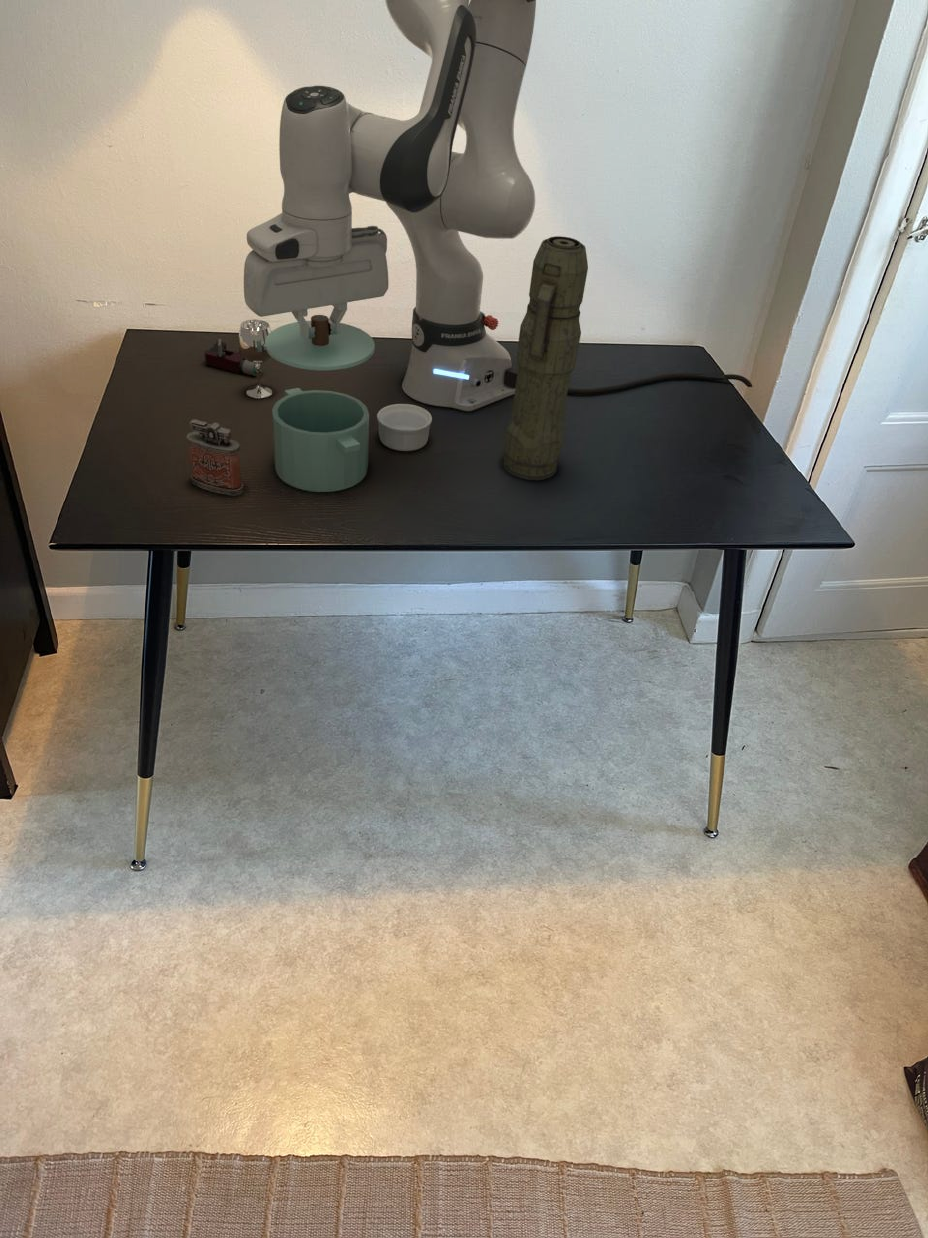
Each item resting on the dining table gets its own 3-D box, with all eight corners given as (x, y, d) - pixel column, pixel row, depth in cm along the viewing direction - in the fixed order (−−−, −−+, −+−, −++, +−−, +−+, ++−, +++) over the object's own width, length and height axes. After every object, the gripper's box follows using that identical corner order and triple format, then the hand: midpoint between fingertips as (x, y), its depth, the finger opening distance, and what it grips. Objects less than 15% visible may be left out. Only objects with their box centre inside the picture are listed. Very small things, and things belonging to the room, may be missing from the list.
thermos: (493, 477, 141) (522, 248, 119) (511, 443, 150) (541, 224, 128) (548, 490, 140) (588, 260, 117) (563, 455, 149) (602, 235, 126)
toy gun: (257, 380, 159) (256, 354, 156) (197, 365, 162) (195, 339, 159) (283, 360, 167) (282, 335, 164) (226, 346, 169) (224, 321, 166)
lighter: (247, 487, 133) (243, 425, 126) (235, 498, 130) (230, 436, 124) (199, 473, 134) (192, 412, 128) (187, 484, 132) (179, 422, 126)
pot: (332, 430, 148) (332, 376, 142) (392, 487, 136) (395, 430, 130) (252, 448, 141) (248, 392, 135) (309, 510, 130) (308, 451, 124)
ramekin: (417, 458, 144) (419, 434, 141) (367, 444, 145) (367, 420, 143) (438, 435, 150) (440, 411, 147) (390, 422, 152) (390, 398, 149)
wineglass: (268, 402, 154) (265, 334, 146) (236, 396, 154) (231, 328, 147) (281, 388, 158) (278, 321, 150) (250, 382, 159) (245, 315, 151)
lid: (342, 321, 135) (342, 290, 132) (394, 362, 126) (395, 329, 123) (247, 338, 128) (245, 306, 125) (295, 383, 119) (294, 349, 116)
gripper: (375, 216, 123) (373, 315, 132) (234, 233, 114) (242, 338, 123) (399, 231, 120) (395, 331, 129) (255, 249, 110) (262, 357, 119)
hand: (319, 335), depth 126 cm, fingers closed on lid, 2 cm apart
